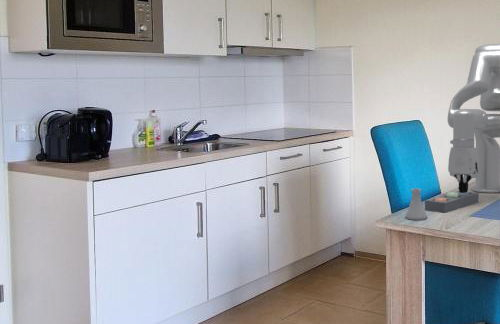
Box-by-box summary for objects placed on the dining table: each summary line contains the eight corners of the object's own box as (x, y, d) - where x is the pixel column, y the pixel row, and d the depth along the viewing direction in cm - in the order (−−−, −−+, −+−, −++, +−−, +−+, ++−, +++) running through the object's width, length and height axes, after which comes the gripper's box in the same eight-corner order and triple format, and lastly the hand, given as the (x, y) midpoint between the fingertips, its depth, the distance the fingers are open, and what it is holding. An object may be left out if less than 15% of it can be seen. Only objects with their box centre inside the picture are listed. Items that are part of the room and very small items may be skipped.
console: (459, 199, 239) (459, 190, 238) (478, 202, 233) (478, 193, 233) (424, 209, 223) (424, 200, 223) (444, 212, 217) (444, 203, 217)
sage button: (450, 199, 231) (450, 191, 230) (460, 200, 228) (460, 192, 227) (444, 200, 228) (444, 192, 228) (454, 202, 225) (454, 194, 225)
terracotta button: (438, 205, 225) (438, 197, 225) (448, 206, 222) (448, 198, 222) (432, 207, 223) (432, 198, 222) (442, 208, 220) (442, 200, 219)
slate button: (461, 198, 236) (461, 190, 236) (471, 199, 233) (471, 192, 233) (455, 200, 233) (455, 192, 233) (465, 201, 230) (465, 193, 230)
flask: (428, 220, 206) (428, 191, 205) (405, 220, 208) (405, 191, 207) (426, 216, 213) (426, 187, 212) (404, 215, 215) (404, 187, 214)
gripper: (440, 143, 233) (440, 191, 236) (477, 145, 222) (477, 196, 225) (450, 142, 238) (450, 189, 241) (487, 143, 227) (487, 193, 230)
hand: (463, 192), depth 233 cm, fingers closed
